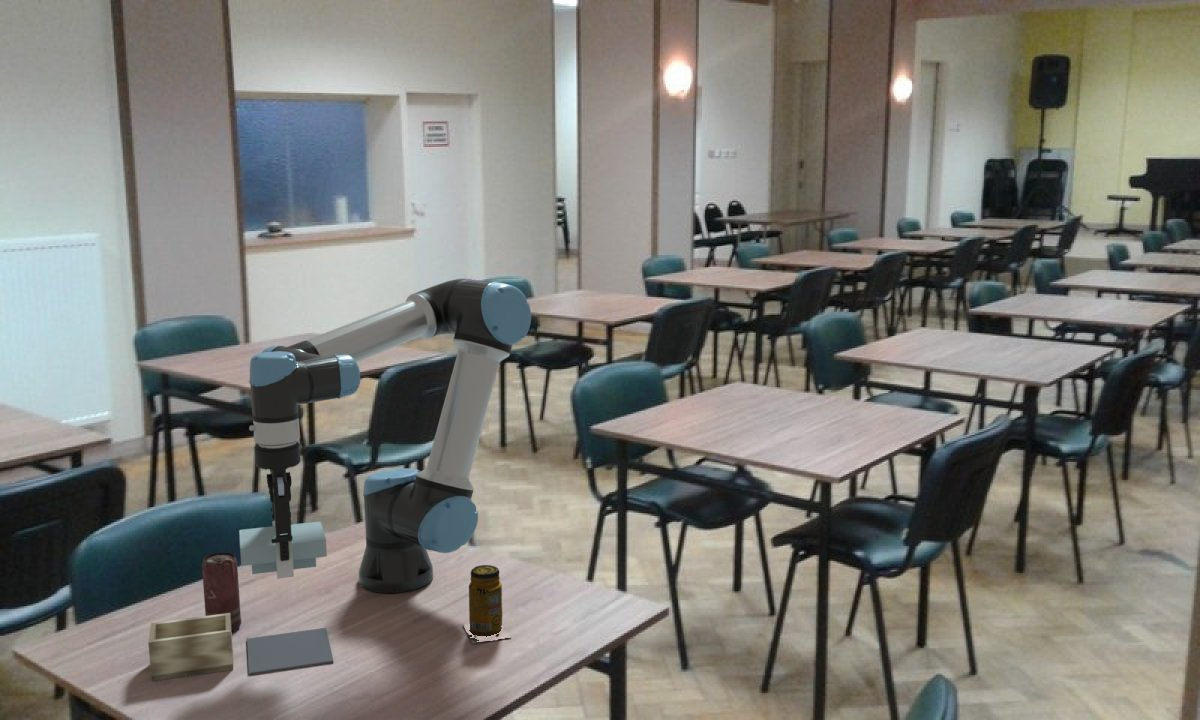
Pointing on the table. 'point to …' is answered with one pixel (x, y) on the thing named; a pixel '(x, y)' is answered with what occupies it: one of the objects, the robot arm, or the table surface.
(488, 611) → the condiment
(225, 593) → the can
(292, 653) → the mat
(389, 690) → the table surface
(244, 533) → the lid
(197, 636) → the crate
